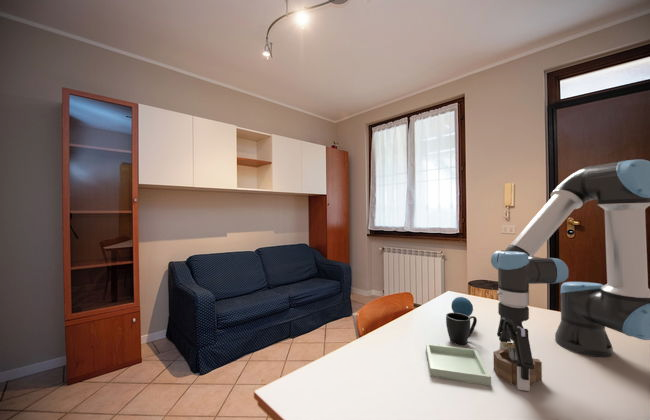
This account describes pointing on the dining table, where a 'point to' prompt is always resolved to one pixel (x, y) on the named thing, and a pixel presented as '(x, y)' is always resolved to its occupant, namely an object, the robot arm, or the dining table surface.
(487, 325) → the dining table surface
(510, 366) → the ring
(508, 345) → the door handle
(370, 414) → the dining table surface
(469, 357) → the tray
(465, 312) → the light bulb
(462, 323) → the mug
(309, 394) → the dining table surface
